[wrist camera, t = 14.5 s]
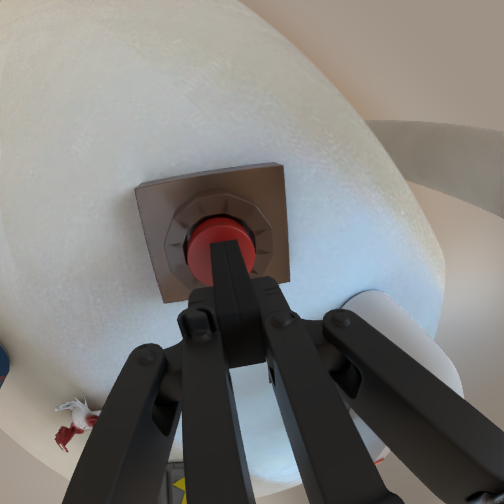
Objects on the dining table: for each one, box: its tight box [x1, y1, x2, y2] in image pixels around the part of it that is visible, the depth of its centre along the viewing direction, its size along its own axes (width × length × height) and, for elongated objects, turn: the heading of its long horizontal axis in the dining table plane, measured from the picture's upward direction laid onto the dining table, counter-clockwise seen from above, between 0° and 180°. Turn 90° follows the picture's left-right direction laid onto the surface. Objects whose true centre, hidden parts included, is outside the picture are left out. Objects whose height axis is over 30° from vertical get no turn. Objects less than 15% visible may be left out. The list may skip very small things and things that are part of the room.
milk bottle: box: [341, 290, 465, 400], centre depth 19 cm, size 8×8×20 cm
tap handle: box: [349, 408, 390, 465], centre depth 26 cm, size 7×2×9 cm, turn 6°
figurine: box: [55, 394, 101, 452], centre depth 24 cm, size 15×12×7 cm
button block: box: [135, 162, 290, 303], centre depth 19 cm, size 10×9×4 cm
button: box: [187, 217, 255, 286], centre depth 17 cm, size 4×4×2 cm
